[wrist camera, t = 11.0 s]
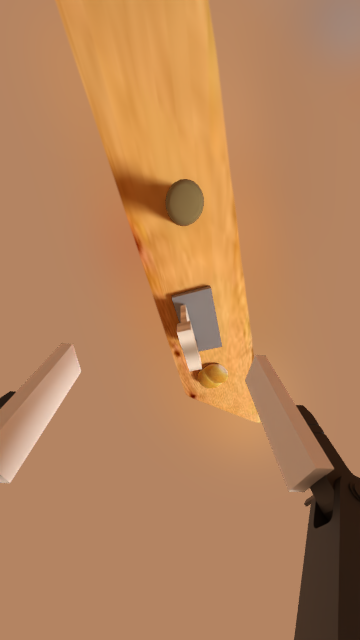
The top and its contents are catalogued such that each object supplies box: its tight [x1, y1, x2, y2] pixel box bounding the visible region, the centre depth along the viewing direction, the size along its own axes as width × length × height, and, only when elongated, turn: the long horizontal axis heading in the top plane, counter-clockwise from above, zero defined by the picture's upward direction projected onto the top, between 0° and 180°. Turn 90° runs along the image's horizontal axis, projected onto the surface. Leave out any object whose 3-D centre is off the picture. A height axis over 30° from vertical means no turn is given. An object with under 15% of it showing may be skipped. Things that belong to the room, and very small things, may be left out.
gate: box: [177, 305, 202, 371], centre depth 38 cm, size 12×3×10 cm, turn 15°
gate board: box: [172, 286, 222, 351], centre depth 43 cm, size 17×9×2 cm, turn 15°
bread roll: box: [198, 364, 228, 388], centre depth 52 cm, size 8×9×4 cm
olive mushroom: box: [166, 179, 204, 226], centre depth 27 cm, size 6×6×11 cm
